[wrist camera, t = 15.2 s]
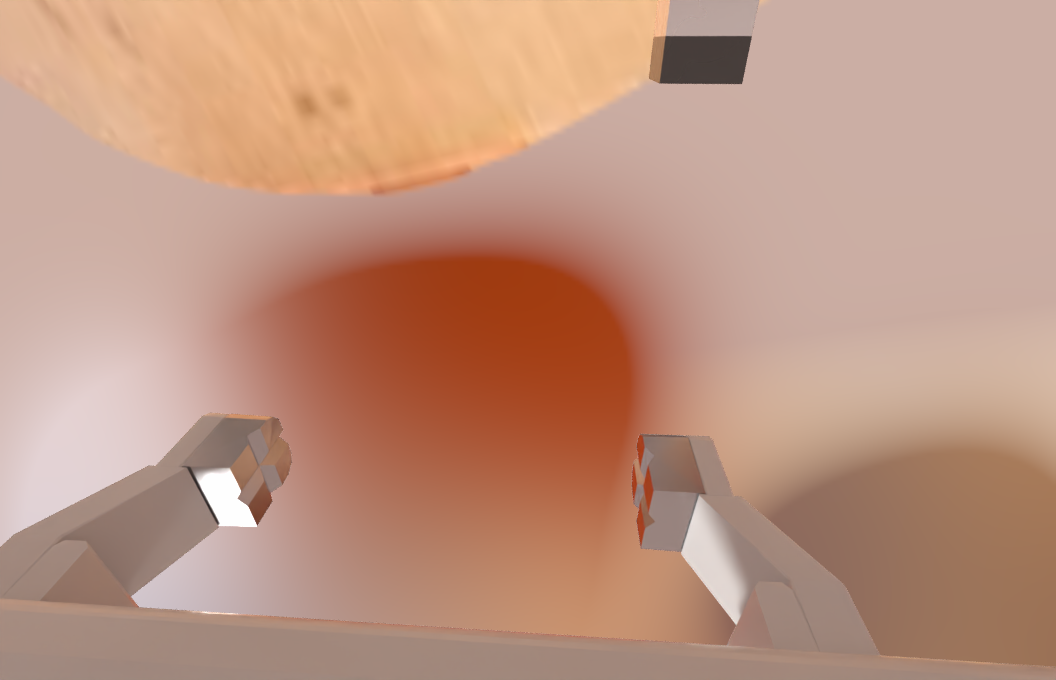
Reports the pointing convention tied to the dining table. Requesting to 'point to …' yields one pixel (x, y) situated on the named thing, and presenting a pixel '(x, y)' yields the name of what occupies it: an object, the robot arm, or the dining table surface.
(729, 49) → the grey bar
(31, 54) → the dining table surface
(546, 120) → the dining table surface
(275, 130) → the dining table surface
